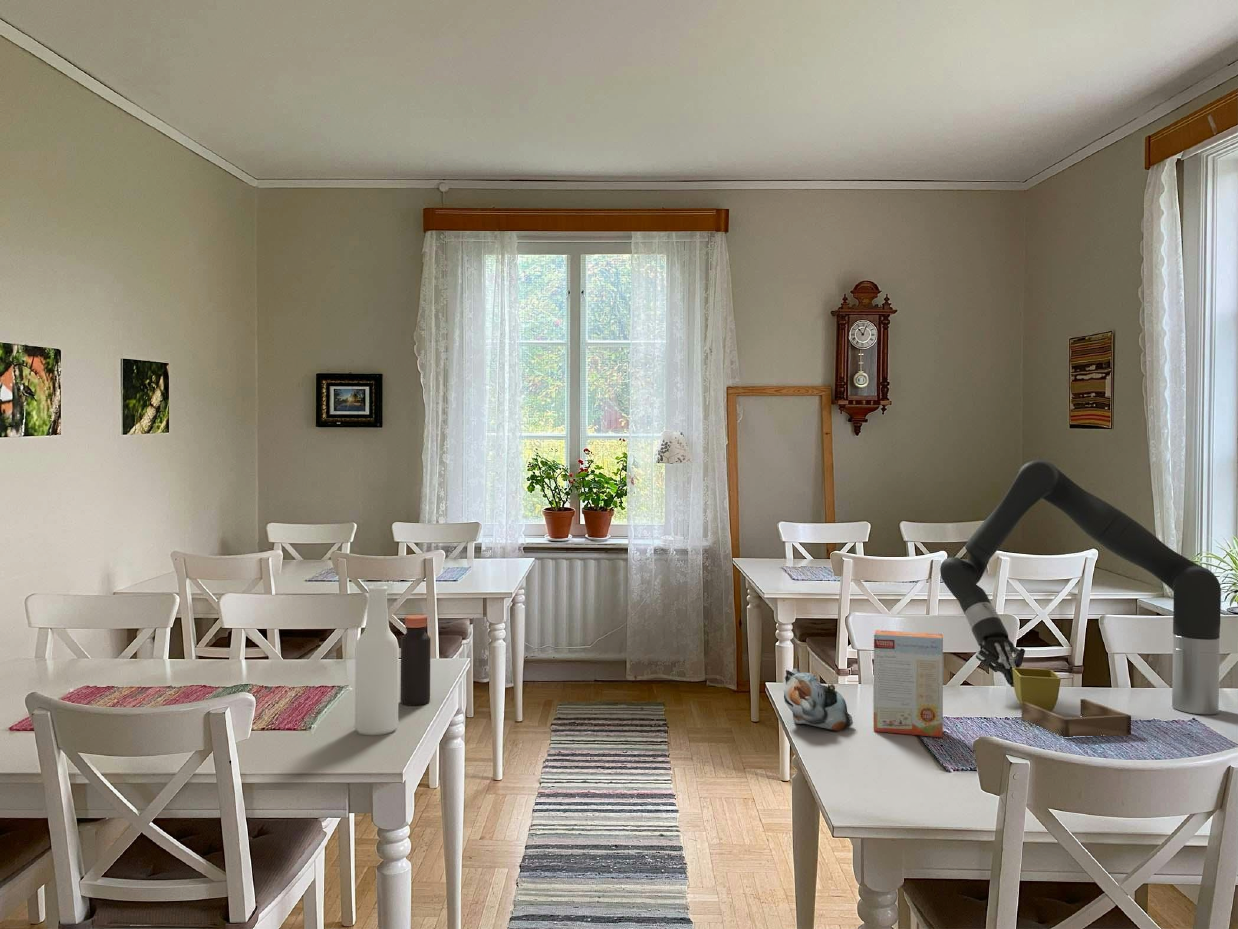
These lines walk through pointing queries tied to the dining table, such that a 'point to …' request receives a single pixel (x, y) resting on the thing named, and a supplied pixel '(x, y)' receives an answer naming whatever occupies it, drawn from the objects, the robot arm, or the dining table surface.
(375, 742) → the dining table surface
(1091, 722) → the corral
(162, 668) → the dining table surface
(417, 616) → the bottle
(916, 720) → the cracker box
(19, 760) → the dining table surface
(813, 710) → the lucky cat figurine
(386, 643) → the alcohol
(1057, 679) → the flower pot
